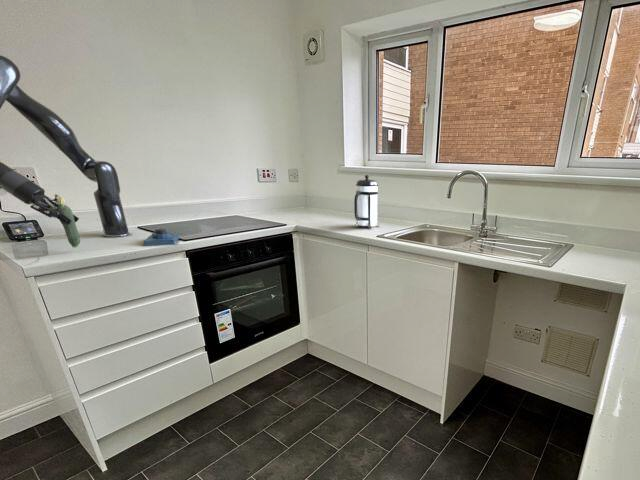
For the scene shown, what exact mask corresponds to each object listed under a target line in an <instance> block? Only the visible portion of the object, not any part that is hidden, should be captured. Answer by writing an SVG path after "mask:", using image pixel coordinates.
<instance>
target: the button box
mask: <svg viewBox="0 0 640 480" xmlns="http://www.w3.org/2000/svg"><path fill="white" fill-rule="evenodd" d="M179 239H180V235H179V233H172V232H170V231H166V234H156V232H155V231H154V232H152V233H151V234H150V235H149V236H147V237H146V238H145V239H144V240H143V243H144V247H150V246H174V245H176V244H177V242H178V241H179Z"/></svg>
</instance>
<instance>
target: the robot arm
mask: <svg viewBox="0 0 640 480" xmlns="http://www.w3.org/2000/svg"><path fill="white" fill-rule="evenodd" d="M20 81H21V71H20V69H19V67H18V66H17V65H16V63H14V62H13V61H12V59H10V58H8V57H6V56H4V55H1V54H0V110H1V109H2V107H3V105H4V103H6V102H7V103H8V104H10V105H11V106H12V107H13V108H14V109H15V110H16V111H18V113H19V114H20V115H22V116H23V117H24V118H25V119H26V120H27V121H28V122H29V123H30V124H32V126H34V128H35V129H37V130H38V132H40V134H42V135H43V136H44V137H45V138H46V139H47V140H48V141H50V143H52V144H53V145H54V146H55V147H56V148H58V150H59V151H61V153H63V154H64V155H65V156H66V157H67V158H68V159H69V160H70V161H71V162H72V164H74V166H75V167H76V168H77V169H78V170H79V171H80V173H82V174H83V175H84V177H86V178H87V179H88V180H90V181H91V182H94V183H96V185H97V189H96V190H95V191H93V197H94V201H95V204H96V208H97V211H98V215H99V219H100V222H101V226H102V232H103V234H104V236H105V237H107V238H119V237H124V236H130V231H129V227H128V224H127V220H126V219H127V218H126V215H125V212H124V208H123V203H122V199H121V195H120V194H121V186H120V180H119V176H118V172H117V170H116V168H115V166H114V165H113V164H112V163H110V162H108V161H104V160H95V159H94V158H93V157H91V155H90V154H89V153H88V152H87V151H85V149H83V147H82V145H80V142H79V140H78V138H77V137H78V136H77V135H76V134H75V132H74V130H73V129H72V128H71V127H70V126H69V124H68V123H66V121H65V120H64V119H63V118H61V117H60V115H58V114H57V112H55V111H54V110H52V109H50V107H47V105H46V106H45V105H44V104H43V103H41V102H40V101H37V100H36V99H34V98H33V97H31V96H30V95H29V94H27V93H26V92H25V91H24V90H23V89H21V87H20V86H18V84H19V82H20ZM0 188H1V189H3V191H5V192H7V193H8V194H10V195H11V196H13V197H15V198H16V199H18V200H19V201H20V202H22V203H24V204H25V205H29V207H30V208H31V209H33V210H34V211H36V212H38V213H40V214H43V215H44V216H45V217H48V218H51V219H52V218H54V219H57V220H59V222H60V221H62V222H64V223H65V224H67V225H68V224H70V223H71V222H72V220H71V219H69V218H68V217H66V216H65V215H63V214H62V213H61V214H60V212H59V211H58V210H56V208H57V206H59V204H58V201H57V198H55V197H54V199H53V198H51V197H49V196H47V195H46V194H45V192H46V191H45V189H44V188H43V187H42V186H40V185H38V184H37V183H35V182H34V181H33V180H31V179H29V178H27V176H25V175H23V174H21V173H20V172H17V171H15V169H13V168H11V167H10V166H8V165H7V164H5V163H3V162H2V161H0ZM73 216H74V220H75V223H77V222H78V221H79V220H80V218H79V217H78V216H77V215H75V214H73Z"/></svg>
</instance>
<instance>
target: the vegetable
mask: <svg viewBox="0 0 640 480" xmlns="http://www.w3.org/2000/svg"><path fill="white" fill-rule="evenodd" d="M55 198H57V201H58V204H59V206H57V207H56V210H58V211H59V212H60V214H61V213H62V214H63V215H65V216H66V217H68V218H69V219H71V220H72V222H71V223H70V224H68V225H67V224H65V223H64V222H62V221H60V220H59V222H60V223H61V225H62V227H63V229H64V233H65V236H66V238H67V241H68V243H69V245H70V246H71V247H72V248H74V249H76V248H78V247H79V245H80V244H81V239H80V238H81V237H80V233H79V231H78V227H77V225H76V222H75V220H74V216H73V215H74V213H73V210H72V209H71V207H70V206H68V205H67V204H66V201H65V199H64V198H63V197H62V196H61V195H59V194H57V193H55V194H54V199H55Z"/></svg>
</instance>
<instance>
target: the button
mask: <svg viewBox="0 0 640 480" xmlns="http://www.w3.org/2000/svg"><path fill="white" fill-rule="evenodd" d="M155 232H156V234H166V232H167V229H166V228H156V229H154V233H155Z"/></svg>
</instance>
